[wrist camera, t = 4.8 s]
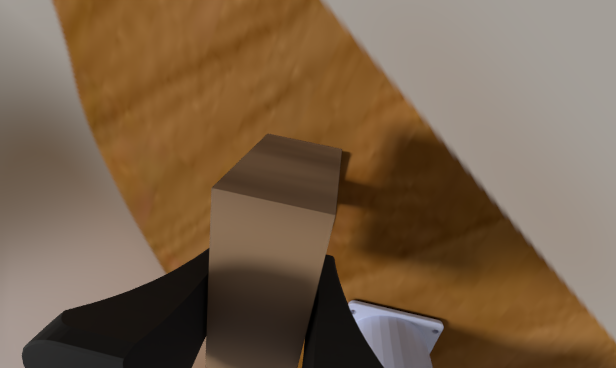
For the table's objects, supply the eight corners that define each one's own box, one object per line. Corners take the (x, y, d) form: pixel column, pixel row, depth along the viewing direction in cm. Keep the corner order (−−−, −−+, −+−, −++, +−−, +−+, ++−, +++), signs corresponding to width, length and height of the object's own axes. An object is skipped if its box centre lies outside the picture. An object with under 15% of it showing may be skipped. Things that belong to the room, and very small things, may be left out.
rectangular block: (305, 305, 18) (284, 417, 12) (249, 291, 18) (204, 396, 12) (341, 149, 13) (335, 215, 8) (267, 133, 14) (211, 187, 8)
